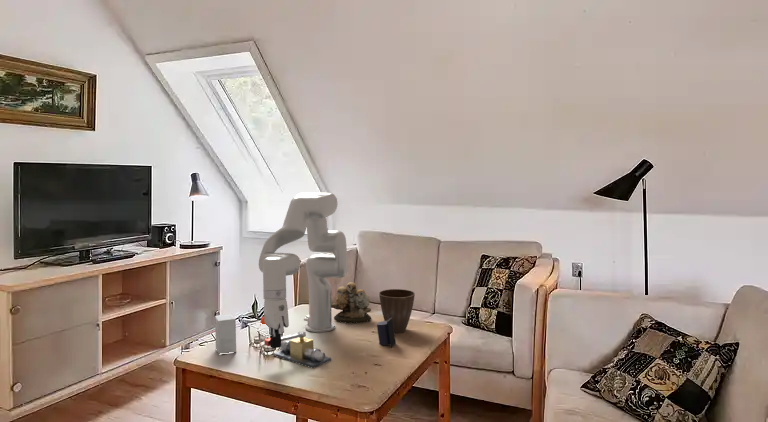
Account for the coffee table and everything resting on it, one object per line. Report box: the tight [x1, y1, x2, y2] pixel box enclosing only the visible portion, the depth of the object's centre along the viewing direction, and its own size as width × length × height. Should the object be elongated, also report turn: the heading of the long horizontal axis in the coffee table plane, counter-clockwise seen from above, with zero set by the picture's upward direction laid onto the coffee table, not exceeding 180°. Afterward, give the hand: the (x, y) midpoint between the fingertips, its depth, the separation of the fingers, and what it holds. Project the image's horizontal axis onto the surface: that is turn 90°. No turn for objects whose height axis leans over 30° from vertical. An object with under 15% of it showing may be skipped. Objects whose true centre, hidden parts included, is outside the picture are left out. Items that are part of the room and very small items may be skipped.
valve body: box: [273, 336, 332, 369], centre depth 189 cm, size 20×9×8 cm, turn 53°
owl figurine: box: [331, 281, 372, 324], centre depth 238 cm, size 18×12×17 cm, turn 87°
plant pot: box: [378, 288, 416, 334], centre depth 222 cm, size 15×15×16 cm
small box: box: [214, 313, 237, 355], centre depth 197 cm, size 8×6×13 cm
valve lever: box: [263, 331, 307, 347], centre depth 185 cm, size 3×15×2 cm, turn 130°
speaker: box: [376, 318, 397, 349], centre depth 204 cm, size 8×6×10 cm
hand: (275, 346), depth 179 cm, fingers closed
